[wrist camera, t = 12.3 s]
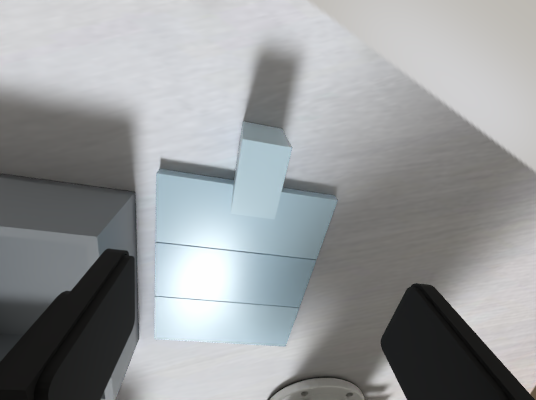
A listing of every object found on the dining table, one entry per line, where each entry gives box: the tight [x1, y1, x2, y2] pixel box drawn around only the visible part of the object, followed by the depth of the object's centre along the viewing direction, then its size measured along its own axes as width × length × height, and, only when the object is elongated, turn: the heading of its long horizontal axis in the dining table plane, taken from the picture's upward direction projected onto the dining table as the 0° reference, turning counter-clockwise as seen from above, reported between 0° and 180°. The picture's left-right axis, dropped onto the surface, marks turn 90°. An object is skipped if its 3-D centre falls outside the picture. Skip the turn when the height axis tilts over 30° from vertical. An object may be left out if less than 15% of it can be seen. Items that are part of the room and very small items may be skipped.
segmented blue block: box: [154, 121, 338, 346], centre depth 20 cm, size 13×21×4 cm, turn 169°
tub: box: [0, 174, 139, 400], centre depth 19 cm, size 12×16×6 cm
